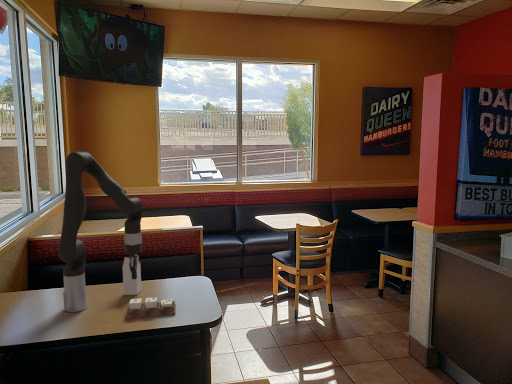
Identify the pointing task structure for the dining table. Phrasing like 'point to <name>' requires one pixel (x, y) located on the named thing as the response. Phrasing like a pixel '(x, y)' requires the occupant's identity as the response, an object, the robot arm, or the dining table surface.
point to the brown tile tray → (151, 311)
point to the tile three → (166, 303)
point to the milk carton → (131, 284)
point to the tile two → (151, 302)
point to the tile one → (135, 304)
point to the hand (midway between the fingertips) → (134, 278)
